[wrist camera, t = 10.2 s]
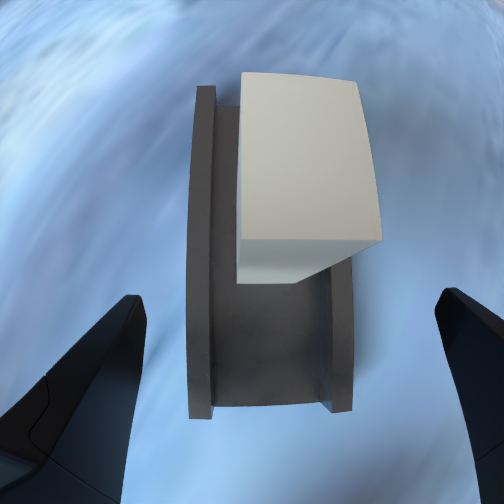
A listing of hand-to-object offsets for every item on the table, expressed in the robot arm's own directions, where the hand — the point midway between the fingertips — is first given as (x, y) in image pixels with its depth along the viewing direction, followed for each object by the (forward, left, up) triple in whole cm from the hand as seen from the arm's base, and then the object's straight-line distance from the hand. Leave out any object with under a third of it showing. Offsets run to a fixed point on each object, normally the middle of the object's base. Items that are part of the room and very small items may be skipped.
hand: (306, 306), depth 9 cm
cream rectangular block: (+3, -3, -11) cm, 11 cm away
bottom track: (+3, -3, -11) cm, 12 cm away
